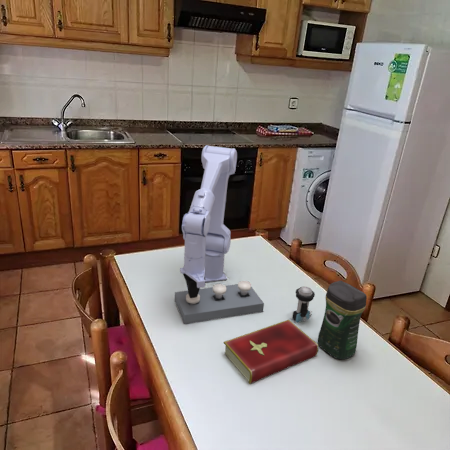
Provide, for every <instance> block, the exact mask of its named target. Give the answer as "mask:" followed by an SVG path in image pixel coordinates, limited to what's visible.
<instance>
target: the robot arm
mask: <svg viewBox="0 0 450 450" xmlns="http://www.w3.org/2000/svg"><path fill="white" fill-rule="evenodd" d="M237 161H238V152H237V150H236V148H234V147H233V148H229V147H221V146H215V145H214V146H213V145H207V144H206V145H205V146H203V148H202V151H201V163H202V168H203V169H204V170H203V175H202V181H201V185H200V189H198V190H196V191H195V192H194V195H193V198H192V201H191V205H190V206H189V207H190V208H189V210H188V212H187V213H185V214H183V217H182V223H181V231H182V235H183V236H182V238H183V240H184V252H183V255H184V256H183V267H180V268H179V272H180V274H182V277H184V278H183V279H185V284H186V288H187V291H188V294H189V297H190V298H195V297H197V296H198V293H199V290H200V289H202V288H206V283H208V282H209V283H210V282H217V281H225V280H227V279H228V277H227V275H226V274H225V272H224V271H225V270H224V269H225V268H224V267H225V255H226V254H228V252H229V250H230V248H231V242H232V241H231V239H232V238H231V234H232V233H231V230H230V228H228V227H227V226H226V225H225V224H224V221H225V220H224V218H225V210H226V203H227V193H228V192H227V190H228V183H229V178H230V176H231V175H235V174H236V173H235V172H236V169H237V168H236V167H237Z"/></svg>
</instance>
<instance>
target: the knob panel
mask: <svg viewBox="0 0 450 450" xmlns="http://www.w3.org/2000/svg"><path fill="white" fill-rule="evenodd" d="M225 286H226V293H225V294H223V295H222V298H221V299H218V298H216V294H215V293H213V286H212V287H203V288H200V290H199V293H198V294H199V295H200V301H199V302H198V303H196V304H192V305H189V303H188V302H187V301H186V295H187V294H188V290H182V291H174V302H175V306H176V307H177V310H178V313H179V316H180V317H181V319H182V322H183V325H189V324H194V323H200V322H207V321H213V320H221V319H225V318H226V319H227V318H232V317H233V318H234V317H238V316H239V317H240V316H245V315H252V314H257V313H258V314H259V313H263V312H264V307H265V303H264V301H263V300H262V299H261V297H260V295H258V293H257V292H256V291H255V290H254V288H253V287H252V286H251V290H249V291H247V295H242V294H241V290H239V289H238V283H237V284H236V283H235V284H228V285H225Z"/></svg>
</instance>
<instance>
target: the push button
mask: <svg viewBox="0 0 450 450" xmlns="http://www.w3.org/2000/svg"><path fill="white" fill-rule="evenodd" d="M295 297H296V298H297V300H298V301H297V307H296V310H294V311H292V316H291V318H292V320H293V321H295V322H296V323H298V324H299V323H301V322H306V321H307V320H309V319H310V316H312V315H313V314H312V313H313V311H312V310H309V306H310V302H312V301H314V297H316V294H315V291H313V289H312V288H311V287H309V286H301V287H299V288H297V289H296V290H295Z"/></svg>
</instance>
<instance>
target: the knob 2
mask: <svg viewBox="0 0 450 450" xmlns="http://www.w3.org/2000/svg"><path fill="white" fill-rule="evenodd" d="M237 284H238V289H239V290H241V294H242V295H247V291H249V290H251V287H252V283H251V282H250V281H247V280H241V281H238V283H237Z"/></svg>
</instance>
